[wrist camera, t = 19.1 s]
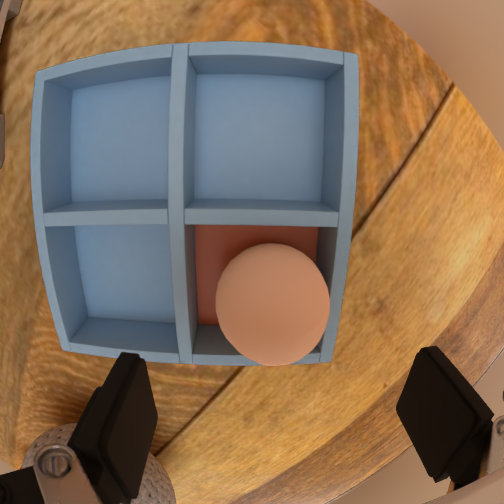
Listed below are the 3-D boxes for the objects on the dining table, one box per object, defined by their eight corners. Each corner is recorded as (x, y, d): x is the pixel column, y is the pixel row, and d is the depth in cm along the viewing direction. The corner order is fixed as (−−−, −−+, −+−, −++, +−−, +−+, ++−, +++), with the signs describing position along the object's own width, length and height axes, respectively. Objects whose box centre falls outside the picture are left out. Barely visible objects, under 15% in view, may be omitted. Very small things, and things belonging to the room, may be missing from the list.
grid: (334, 72, 16) (358, 54, 12) (316, 328, 21) (331, 362, 17) (68, 82, 15) (35, 71, 11) (85, 321, 20) (62, 350, 16)
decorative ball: (81, 365, 22) (7, 503, 7) (213, 449, 25) (208, 581, 11) (39, 422, 24) (-7, 513, 10) (140, 484, 28) (123, 577, 14)
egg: (218, 229, 18) (205, 280, 11) (314, 230, 18) (362, 278, 11) (220, 316, 20) (213, 397, 12) (307, 314, 20) (339, 392, 13)
